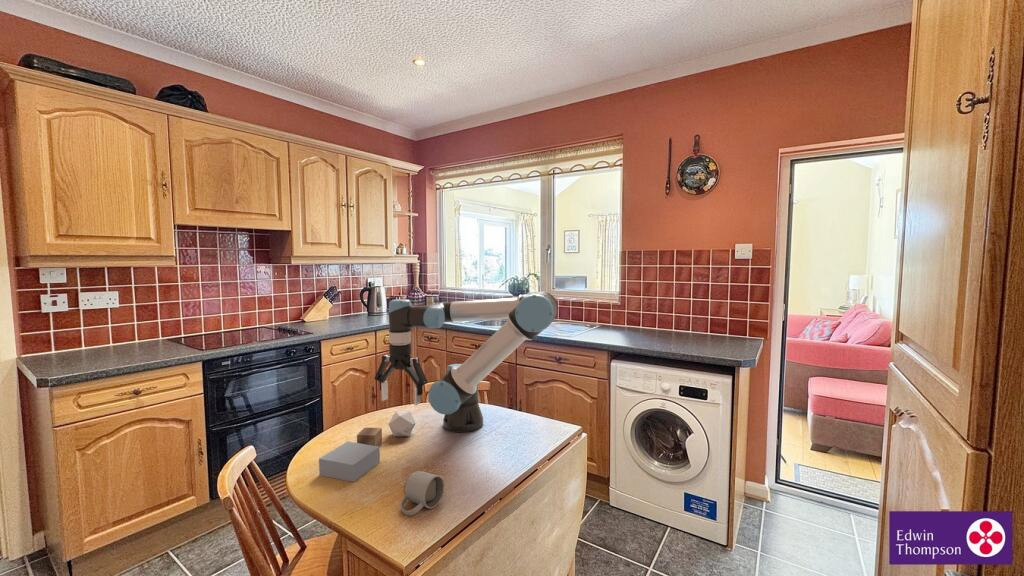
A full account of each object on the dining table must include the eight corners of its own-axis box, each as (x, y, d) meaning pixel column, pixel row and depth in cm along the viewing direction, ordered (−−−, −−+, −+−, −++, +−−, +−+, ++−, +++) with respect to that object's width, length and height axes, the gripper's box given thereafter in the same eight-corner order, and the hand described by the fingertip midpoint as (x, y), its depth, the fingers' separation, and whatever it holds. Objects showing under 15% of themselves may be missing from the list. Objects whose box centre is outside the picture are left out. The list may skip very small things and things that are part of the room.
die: (401, 444, 142) (418, 418, 144) (380, 430, 143) (397, 404, 146) (407, 442, 150) (422, 417, 152) (387, 429, 151) (403, 404, 154)
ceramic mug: (421, 490, 112) (420, 463, 111) (445, 499, 108) (444, 470, 107) (392, 511, 103) (391, 482, 102) (417, 522, 98) (416, 491, 98)
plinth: (379, 462, 127) (379, 446, 127) (353, 482, 116) (353, 464, 116) (347, 456, 131) (347, 441, 131) (319, 475, 120) (318, 458, 120)
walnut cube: (382, 445, 140) (381, 427, 139) (375, 453, 134) (374, 435, 133) (364, 444, 140) (364, 427, 140) (357, 452, 134) (356, 434, 134)
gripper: (436, 343, 146) (437, 402, 147) (377, 338, 153) (377, 394, 155) (425, 347, 138) (426, 409, 140) (363, 342, 146) (364, 401, 148)
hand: (400, 401), depth 147 cm, fingers open, 13 cm apart
